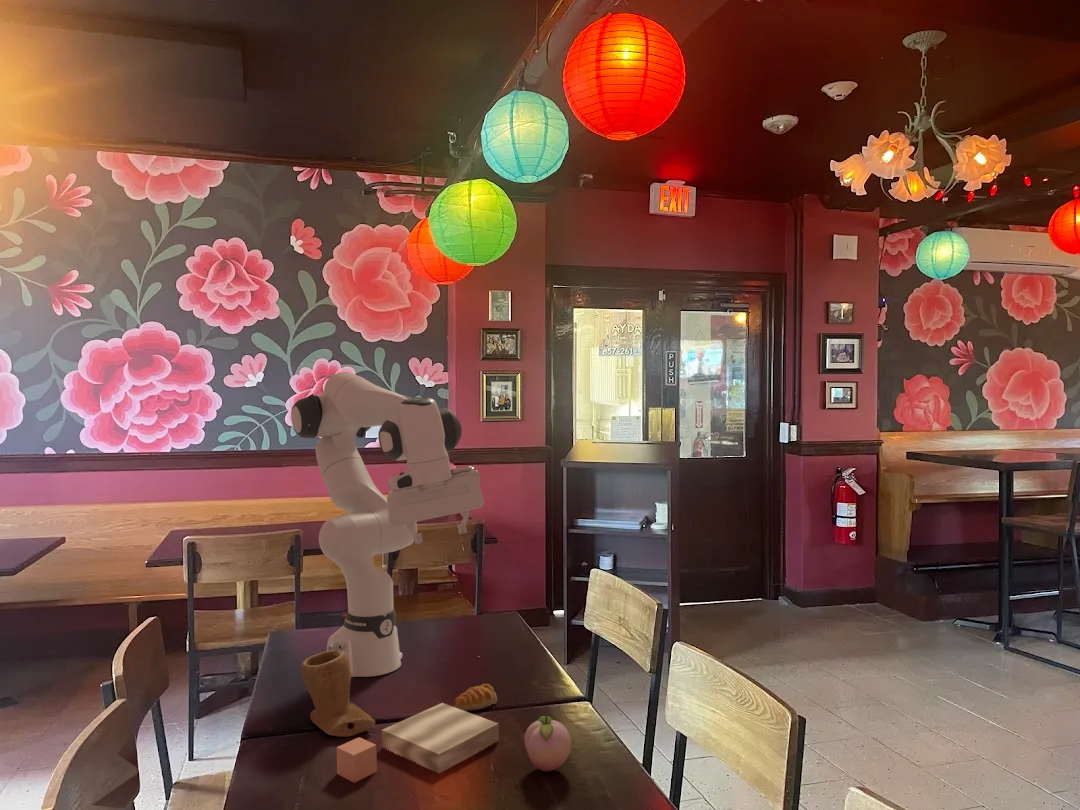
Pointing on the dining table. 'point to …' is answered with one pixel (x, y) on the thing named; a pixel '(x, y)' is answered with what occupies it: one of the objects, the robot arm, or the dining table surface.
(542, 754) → the decorative fruit
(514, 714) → the dining table surface
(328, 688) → the cork boot vase
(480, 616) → the dining table surface
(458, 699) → the pastry
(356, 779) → the terracotta block
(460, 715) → the birch base
